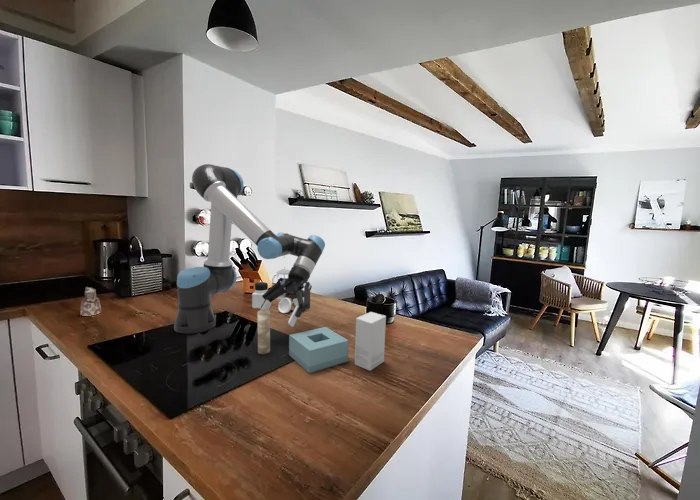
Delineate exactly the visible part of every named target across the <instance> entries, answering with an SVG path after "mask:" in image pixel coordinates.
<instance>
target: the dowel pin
mask: <svg viewBox="0 0 700 500" xmlns="http://www.w3.org/2000/svg"><path fill="white" fill-rule="evenodd" d="M256 314H257V315H258V316H257V353H258V354H259V355H267V354H269V353H270V352H271V311H270V310H269V309H268V310H261V309H260V310H258V311H257V313H256Z"/></svg>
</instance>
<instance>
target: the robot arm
mask: <svg viewBox="0 0 700 500" xmlns="http://www.w3.org/2000/svg"><path fill="white" fill-rule="evenodd" d="M191 183H192V186H193V189H195V191H196V192H197V194H198V195H199V196H200V197H201V198H203V200H204V201H205V202H209V203H210V217H209V230H208V231H209V233H208V234H209V235H208V251H207V259H206V260H204V262H203V266H194V267H188V268H186V269H183V270H180V271H179V272H178V274H177V275H176V276H177V277H176V279H177V280H176V286H177V287H176V289H177V290H176V291H177V305H178V306H177V307H178V309H177V314H176V316H175V319H174V322H173V330H174V332H175V333H179V334H184V335H185V334H187V335H188V334H190V335H191V334H199V333H203V332H207V331H209V330H212V329H213V328H215V326H216V325H217V324H216V323H217V319H216V316H215V314H214V312H213V309H212V305H211V300H212V299H211V297H213V296H216V295H219V294H222V293H225V292H228V291H229V290H230V289H232V288H233V287H234V286H235V284H236V282H237V279H238V274H237V271H236V270H235V268H234V267H233V262H232V261H231V260H230V251H231V239H232V238H231V237H232V226H233V225H235V226H236V227H237V228H238V229H239V230H240V231H241V233H243V234H244V235H245V236H246V237H247V238H248V239H249V240H251V242H252V243H254V244H255V245H256V246H257V248H256V250H257V253H258V255H259V256H260V257H261V258H263V259H265V260H274V259H275V260H276V259H278V258H279V257H285V256H287V255H291V256H295V257H297V258H296V260H295V262H294V263H293V265H292V267H291V269H290V270H289V271H290V272H289V274H287V279H286V280H283V279H282V278H283V277H279V278H278V279H279V280H278V279H277V282H275V284H274V283H273V284H272V286H271V287H270V288H268V291H267V292H266V293H264V294H263V295H262V297H263V298H264V299H265V301H264V302H263V304H262V306H261V308H260V310H269V309H270V308H271V306H272V302H273V301H275V300H277V298H278V297H279V296H281V295H282V294H284V293H287V292H288V293H294V294H295V293H296V296H297V300H298V304H299V307H298V306H296V307H295V309H294V311H293V312H291V315H290V318H289V319H288V322H287V324H288V325H289V326H290V327H292V328H294V326H295V324H296V322H297V320H298V318H300V317H301V315H302V313H303V311H304V310H306V309H307V310H309V309H311V290H312V287H313V286H312V284H311V283H310V282H309V279H310V278H311V274H312V273H313V271H314V269H315V267H316V265H317V263H318V261H319V259H320V257H321V255H322V254H323V252H324V249H325V246H326V243H325V240H324V239H323V238H322V237H320V235H319V236H318V235H315V234H311V235H309V236H308V237H307V239H306V238H302V237H298V236H295V235H292V234H290V233H286V232H285V233H284V232H278V233H277V234H276V233H274V232H273V231H272V230H271V229H270V228H269V227H268V226H267V225H266V224H265V223H263V222H262V220H261V219H259V218H258V217H257V215H255V214H254V213H253V211H251V210H250V209H249V208H248V207H247V206H246V205H244V204H243V202H242V201H241V200H239V199H238V196H239V195H241V193H242V192H243V190H244V180H243V178H242V176H241V174H240V173H239V172H238V171H237V170H234V169H233V168H230V167H225V166H220V165H215V164H210V163H206V164H201V165H199V166H198V167H196V169H195V170H194V171H193V172H192V175H191ZM232 224H233V225H232ZM284 288H285V289H286V290H285V289H284ZM301 289H303V291H304V302H303V298H302V292H301ZM269 298H270V299H269ZM257 317H258V314H257Z"/></svg>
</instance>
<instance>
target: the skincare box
mask: <svg viewBox="0 0 700 500" xmlns="http://www.w3.org/2000/svg"><path fill="white" fill-rule="evenodd" d="M386 321H387V315H384V314H380V313H377V312H373V311H369V312H367V313H365V314H363V315H360V316H358V317H356V318H355V343H354V345H355V346H354V365H355V366H357V367H360V368H362V369H364V370H367V371H373V370H374V369H375V368H377V367H378V366H380V365H381V364H383V362H385V344H386V343H385V342H386V328H387V326H386V325H387V324H386V323H387V322H386Z"/></svg>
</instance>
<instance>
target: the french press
mask: <svg viewBox="0 0 700 500" xmlns="http://www.w3.org/2000/svg"><path fill="white" fill-rule="evenodd" d="M289 272H290V270H289V269H286V268H283V269H280V270H278V271H277V272H276V273H277V274H275V275H273V277H272V278H271V284H273V285H274V284H276V282H274V278H275V277H279V275H283V276H285V275H286V276H287V275H288V274H289ZM281 278H282V279H283V280H286V279H287V278H288V277H287V278H285V277H281ZM279 279H280V278H278V279H277V281H278V280H279ZM284 289H285V288H284ZM285 290H286V289H285ZM285 294H286V293H284V294H282V295H281V296H279V297H278V298H276V300H281V299H283V298H285Z"/></svg>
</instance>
